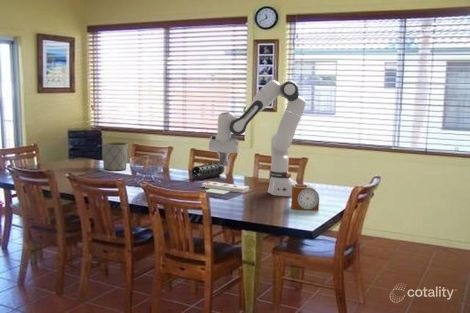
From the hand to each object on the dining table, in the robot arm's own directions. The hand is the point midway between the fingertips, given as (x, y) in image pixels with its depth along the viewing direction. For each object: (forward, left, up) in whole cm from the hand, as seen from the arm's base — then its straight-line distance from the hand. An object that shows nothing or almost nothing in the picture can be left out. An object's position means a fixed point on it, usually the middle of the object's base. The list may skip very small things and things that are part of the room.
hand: (223, 158), depth 344 cm
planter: (+103, -21, -21) cm, 107 cm away
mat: (0, +8, -20) cm, 22 cm away
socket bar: (0, -4, -20) cm, 21 cm away
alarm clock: (-62, +19, -21) cm, 68 cm away
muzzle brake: (+28, -33, -21) cm, 48 cm away
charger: (0, 0, -4) cm, 4 cm away
